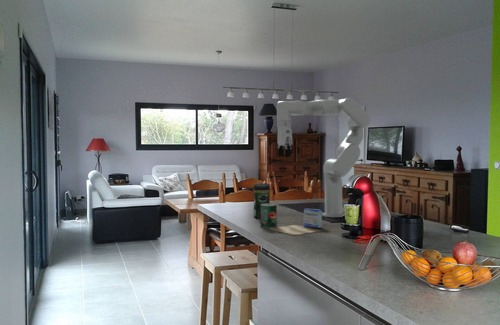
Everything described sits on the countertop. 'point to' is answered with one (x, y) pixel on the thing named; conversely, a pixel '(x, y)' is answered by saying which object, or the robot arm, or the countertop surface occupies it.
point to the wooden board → (294, 230)
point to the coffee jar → (260, 197)
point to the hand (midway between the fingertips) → (284, 156)
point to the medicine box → (312, 218)
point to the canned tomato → (268, 215)
